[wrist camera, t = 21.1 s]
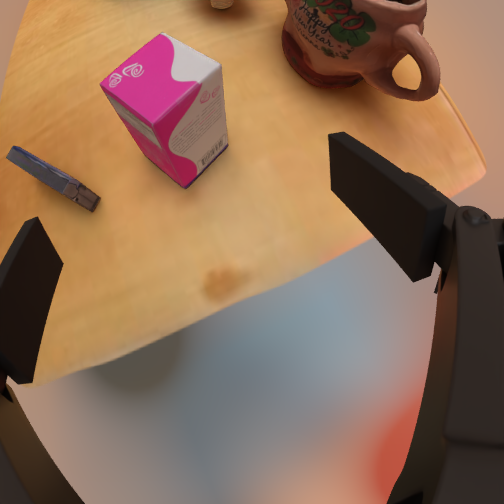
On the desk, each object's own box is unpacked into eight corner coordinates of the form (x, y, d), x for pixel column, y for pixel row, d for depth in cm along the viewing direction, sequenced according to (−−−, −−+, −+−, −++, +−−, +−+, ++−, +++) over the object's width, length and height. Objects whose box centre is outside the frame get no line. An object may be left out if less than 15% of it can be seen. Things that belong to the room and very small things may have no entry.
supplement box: (184, 111, 28) (163, 28, 17) (230, 145, 28) (228, 65, 17) (140, 153, 28) (96, 81, 16) (185, 191, 27) (155, 127, 16)
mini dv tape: (101, 198, 27) (72, 176, 21) (93, 212, 27) (62, 193, 21) (45, 166, 27) (14, 142, 21) (37, 179, 27) (5, 157, 21)
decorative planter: (428, 118, 30) (499, 48, 16) (354, 163, 29) (427, 79, 15) (319, 4, 32) (344, -78, 18) (238, 30, 30) (242, -69, 16)
